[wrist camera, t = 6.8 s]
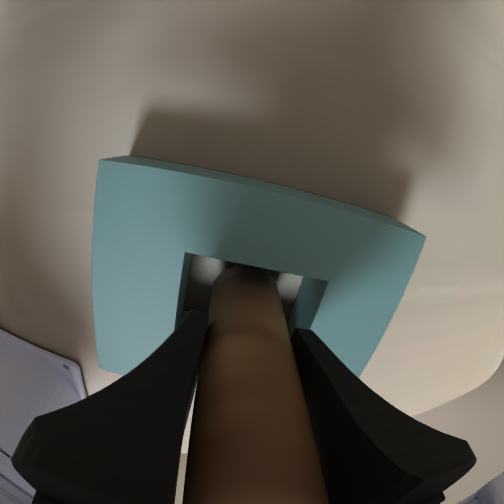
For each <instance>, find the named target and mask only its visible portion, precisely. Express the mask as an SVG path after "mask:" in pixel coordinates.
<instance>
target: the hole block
mask: <svg viewBox="0 0 504 504" xmlns="http://www.w3.org/2000/svg"><path fill="white" fill-rule="evenodd" d="M425 239H426V236H424V235H423V234H421V233H419V232H417V231H416V230H414V229H412V228H410V227H409V226H407V225H405V224H403V223H401V222H400V221H398V220H396V219H394V218H392V217H389V216H385V215H382V214H379V213H376V212H373V211H370V210H367V209H364V208H360V207H357V206H354V205H350V204H347V203H344V202H340V201H337V200H333V199H330V198H326V197H323V196H319V195H316V194H312V193H308V192H305V191H301V190H297V189H293V188H289V187H285V186H281V185H277V184H273V183H269V182H265V181H261V180H256V179H252V178H248V177H243V176H239V175H234V174H230V173H225V172H220V171H215V170H210V169H205V168H200V167H195V166H190V165H184V164H179V163H173V162H167V161H162V160H155V159H149V158H143V157H136V156H121V157H113V158H106V159H100V160H99V167H98V174H97V183H96V192H95V203H94V216H93V233H92V298H93V316H94V328H95V339H96V348H97V356H98V364H99V368H101V369H104V370H107V371H110V372H113V373H117V374H120V375H126V374H127V373H128V372H130V371H131V370H132V369H134V368H135V367H136V366H138V365H139V364H140V363H142V362H143V361H144V360H145V359H146V358H147V357H149V356H150V355H151V354H152V353H153V352H154V351H155V350H156V349H157V348H158V347H159V346H160V345H161V344H162V343H163V342H164V341H165V340H166V339H167V338H168V337H169V336H170V335H171V334H172V332H173V331H174V330H175V329H176V328H177V327H178V325H179V324H180V323H181V322H182V320H183V319H184V317H185V316H186V314H187V312H186V311H183V308H184V301H185V294H186V287H187V281H188V275H189V268H190V262H191V256H192V254H197V255H202V256H206V257H211V258H216V259H221V260H226V261H231V262H235V263H240V264H245V265H250V266H255V267H260V268H265V269H270V270H275V271H280V272H285V273H290V274H295V275H300V276H304V277H303V280H302V283H301V286H300V289H299V292H298V294H297V297H296V300H295V303H294V306H293V309H292V312H291V314H290V317H289V320H288V323H287V327H288V331H289V335H290V339H291V337H292V334H293V332H294V329H295V327H296V328H303V329H310V330H312V331H313V332H314V333H315V334H316V335H317V336H318V337H319V338H320V339H321V340H322V341H323V342H324V343H325V344H326V345H327V346H328V348H329V349H330V350H331V351H332V352H333V353H334V354H335V355H336V356H337V357H338V358H339V359H340V360H341V361H342V362H343V363H344V364H345V365H346V367H347V368H348V369H349V370H351V371H352V372H353V373H354V374H355V375H356V376H357V377H358V378H359V377H360V375H361V373H362V372H363V370H364V368H365V367H366V365H367V363H368V361H369V360H370V358H371V356H372V354H373V353H374V351H375V349H376V347H377V346H378V344H379V342H380V340H381V338H382V336H383V334H384V332H385V331H386V329H387V327H388V325H389V323H390V321H391V319H392V317H393V315H394V313H395V311H396V308H397V306H398V304H399V302H400V300H401V298H402V296H403V293H404V291H405V289H406V287H407V284H408V282H409V280H410V277H411V275H412V273H413V270H414V268H415V265H416V263H417V260H418V258H419V255H420V253H421V250H422V247H423V245H424V242H425ZM196 386H197V384H196ZM195 392H196V388H195Z"/></svg>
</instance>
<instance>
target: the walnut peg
mask: <svg viewBox="0 0 504 504" xmlns="http://www.w3.org/2000/svg"><path fill="white" fill-rule="evenodd" d="M208 313H209V321H208V327H207V332H206V337H205V343H204V348H203V352H202V356H201V360H200V365H199V372H198V379H197V386H196V393H195V400H194V408H193V415H192V423H191V431H190V439H189V447H188V455H187V465H186V473H185V483H184V493H183V503H182V504H329V500H328V496H327V491H326V487H325V482H324V478H323V473H322V469H321V464H320V460H319V456H318V451H317V447H316V443H315V438H314V434H313V430H312V426H311V421H310V417H309V413H308V409H307V405H306V400H305V396H304V392H303V388H302V384H301V380H300V376H299V372H298V368H297V363H296V359H295V355H294V351H293V347H292V343H291V339H290V335H289V331H288V327H287V324H286V320H285V316H284V312H283V308H282V304H281V300H280V296H279V292H278V288H277V285H276V283H275V281H274V279H273V278H272V276H271V275H270V274H269V273H268V272H266V271H265V270H263V269H261V268H259V267H255V266H250V265H238V266H234V267H231V268H229V269H227V270H225V271H224V272H222V273H221V274H220V275H219V276H218V277H217V279H216V280H215V282H214V284H213V287H212V291H211V297H210V303H209V309H208Z"/></svg>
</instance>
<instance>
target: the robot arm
mask: <svg viewBox="0 0 504 504" xmlns="http://www.w3.org/2000/svg"><path fill="white" fill-rule="evenodd" d="M208 321H209V313H208V312H203V311H198V310H193V309H191V310H190V311H188V312H187V314H186V316H185V317H184V319H183V320H182V322H181V323H180V324H179V325H178V327H177V328H176V329H175V330H174V331H173V332H172V334H171V335H170V336H169V337H168V338H167V339H166V340H165V341H164V342H163V343H162V344H161V345H160V346H159V347H158V348H157V349H156V350H155V351H154V352H153V353H152V354H151V355H150V356H149V357H147V358H146V359H145V360H144V361H143V362H142V363H140V364H139V365H138V366H136V367H135V368H134V369H132V370H131V371H130V372H128V373H127V374H126V375H124V376H123V377H121V378H120V379H118V380H117V381H115V382H113V383H112V384H110V385H109V386H107V387H105V388H104V389H102V390H100V391H98V392H96V393H94V394H92V395H90V396H88V397H86V393H85V389H84V384H83V380H82V375H81V371H80V367H79V366H78V364H77V363H75V362H73V361H71V360H68V359H66V358H63V357H60V356H58V355H55V354H53V353H51V352H48V351H46V350H43V349H41V348H39V347H37V346H34V345H32V344H30V343H28V342H26V341H23V340H21V339H19V338H17V337H15V336H13V335H11V334H9V333H7V332H5V331H3V330H1V329H0V504H175V494H176V486H177V478H178V470H179V462H180V454H181V447H182V440H183V435H184V431H185V427H186V423H187V419H188V415H189V411H190V407H191V403H192V400H193V396H194V392H195V388H196V384H197V379H198V372H199V365H200V360H201V356H202V352H203V348H204V343H205V337H206V332H207V327H208ZM291 343H292V347H293V351H294V355H295V359H296V363H297V368H298V372H299V376H300V380H301V384H302V388H303V392H304V396H305V400H306V405H307V409H308V413H309V417H310V421H311V426H312V430H313V434H314V438H315V443H316V447H317V451H318V456H319V460H320V464H321V469H322V473H323V478H324V482H325V487H326V491H327V496H328V500H329V504H440V503H441V502H442V501H444V500H445V496H444V494H443V491H444V490H446V489H447V488H448V487H450V486H451V485H452V484H454V483H455V482H456V481H458V480H459V479H460V478H461V477H463V476H464V475H465V474H466V473H467V472H468V471H469V470H470V469H471V468H472V467H473V466H474V465H475V463H476V460H477V459H476V457H475V455H474V453H473V451H472V449H471V448H470V446H469V444H468V443H467V441H465V440H462V439H460V438H457V437H454V436H451V435H448V434H445V433H442V432H440V431H438V430H435V429H433V428H431V427H429V426H427V425H425V424H423V423H421V422H419V421H417V420H415V419H413V418H412V417H410V416H408V415H407V414H405V413H403V412H402V411H400V410H398V409H397V408H395V407H394V406H392V405H391V404H390V403H388V402H387V401H385V400H384V399H383V398H382V397H380V396H379V395H378V394H376V393H375V392H374V391H373V390H371V389H370V388H369V387H368V386H367V385H366V384H364V383H363V382H362V381H361V380H360V379H359V378H358V377H357V376H356V375H355V374H354V373H353V372H352V371H351V370H349V369H348V368H347V367H346V365H345V364H344V363H343V362H342V361H341V360H340V359H339V358H338V357H337V356H336V355H335V354H334V353H333V352H332V351H331V350H330V349H329V348H328V346H327V345H326V344H325V343H324V342H323V341H322V340H321V339H320V338H319V337H318V336H317V335H316V334H315V333H314V332H313V331H312V330H310V329H303V328H296V327H295V329H294V332H293V334H292V337H291ZM457 504H504V472H502V473H501V474H499V475H498V476H497V477H495V478H494V479H492V480H491V481H489V482H488V483H487V484H485V485H484V486H483V487H481V488H480V489H479V490H478V491H477V492H476V493H474V494H472V495H471V496H469V497H467V498H466V499H464V500H462V501H460V502H459V503H457Z"/></svg>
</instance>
